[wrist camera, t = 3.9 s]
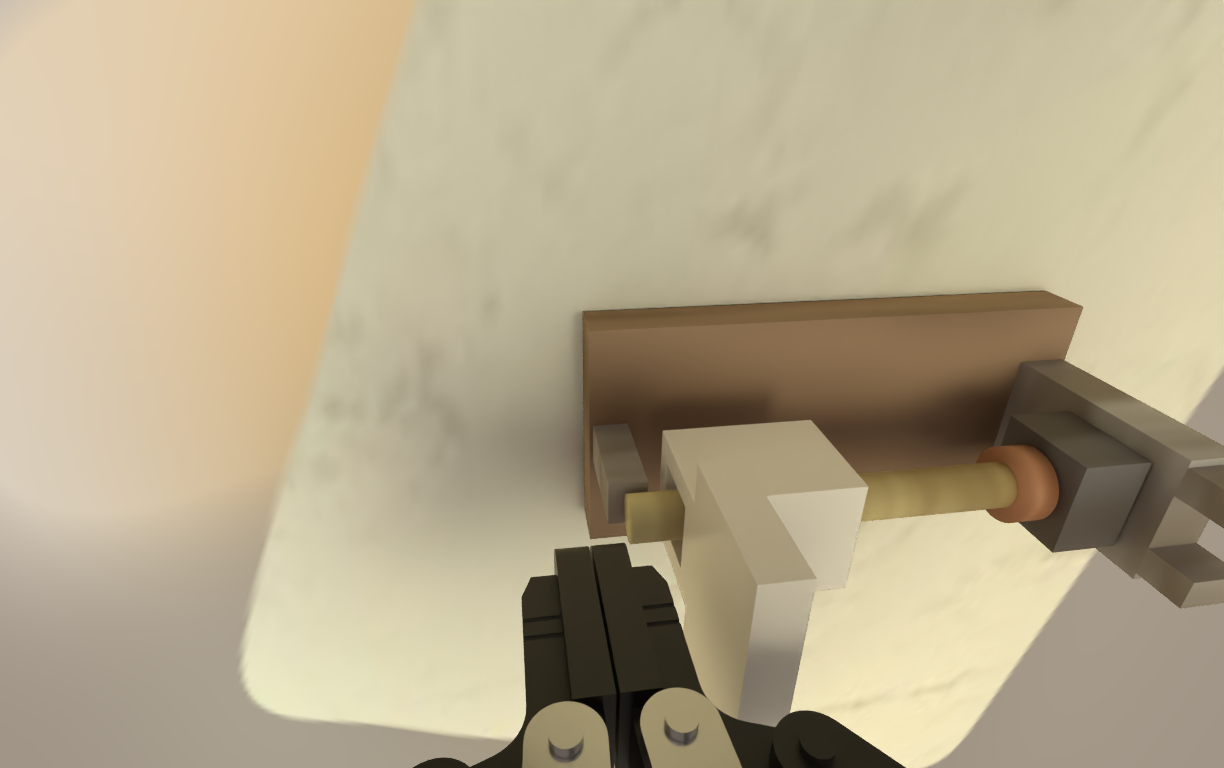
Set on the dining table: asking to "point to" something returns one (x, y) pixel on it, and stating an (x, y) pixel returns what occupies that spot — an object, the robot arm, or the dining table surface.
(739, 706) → the cream stepped block
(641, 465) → the linear actuator
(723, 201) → the dining table surface
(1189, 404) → the dining table surface
